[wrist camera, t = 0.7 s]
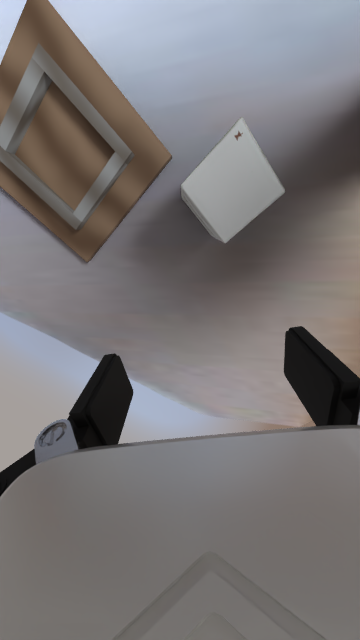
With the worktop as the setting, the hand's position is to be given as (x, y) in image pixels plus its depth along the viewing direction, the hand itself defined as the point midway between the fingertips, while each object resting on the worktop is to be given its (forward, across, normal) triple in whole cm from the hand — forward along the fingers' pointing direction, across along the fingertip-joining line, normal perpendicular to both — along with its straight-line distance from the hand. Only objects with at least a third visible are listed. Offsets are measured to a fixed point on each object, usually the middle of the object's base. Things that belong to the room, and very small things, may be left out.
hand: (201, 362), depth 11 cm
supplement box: (+26, -5, -9) cm, 28 cm away
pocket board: (+26, +14, -18) cm, 34 cm away
